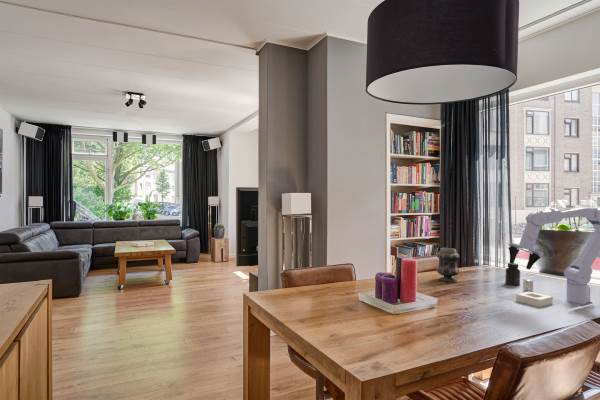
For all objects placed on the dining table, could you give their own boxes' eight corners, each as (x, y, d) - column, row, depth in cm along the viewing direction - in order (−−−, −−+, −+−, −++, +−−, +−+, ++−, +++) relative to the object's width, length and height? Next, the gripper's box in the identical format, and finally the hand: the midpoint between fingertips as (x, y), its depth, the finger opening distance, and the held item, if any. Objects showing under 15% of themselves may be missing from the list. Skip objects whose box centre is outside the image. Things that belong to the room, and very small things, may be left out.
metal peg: (526, 293, 174) (526, 278, 174) (534, 295, 170) (535, 280, 170) (521, 294, 172) (521, 279, 172) (530, 296, 168) (530, 281, 168)
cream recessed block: (524, 294, 176) (524, 285, 176) (565, 303, 161) (565, 294, 161) (499, 299, 167) (499, 290, 167) (541, 310, 151) (541, 300, 151)
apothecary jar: (460, 279, 206) (461, 248, 206) (457, 284, 196) (457, 250, 196) (438, 277, 213) (439, 246, 212) (434, 281, 202) (434, 249, 202)
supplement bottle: (519, 288, 188) (519, 265, 187) (504, 286, 192) (504, 263, 192) (520, 285, 193) (521, 263, 193) (506, 283, 197) (506, 262, 197)
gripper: (509, 232, 169) (499, 259, 170) (541, 241, 156) (531, 270, 157) (517, 234, 173) (507, 261, 173) (549, 243, 160) (539, 272, 161)
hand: (519, 266), depth 166 cm, fingers open, 7 cm apart
